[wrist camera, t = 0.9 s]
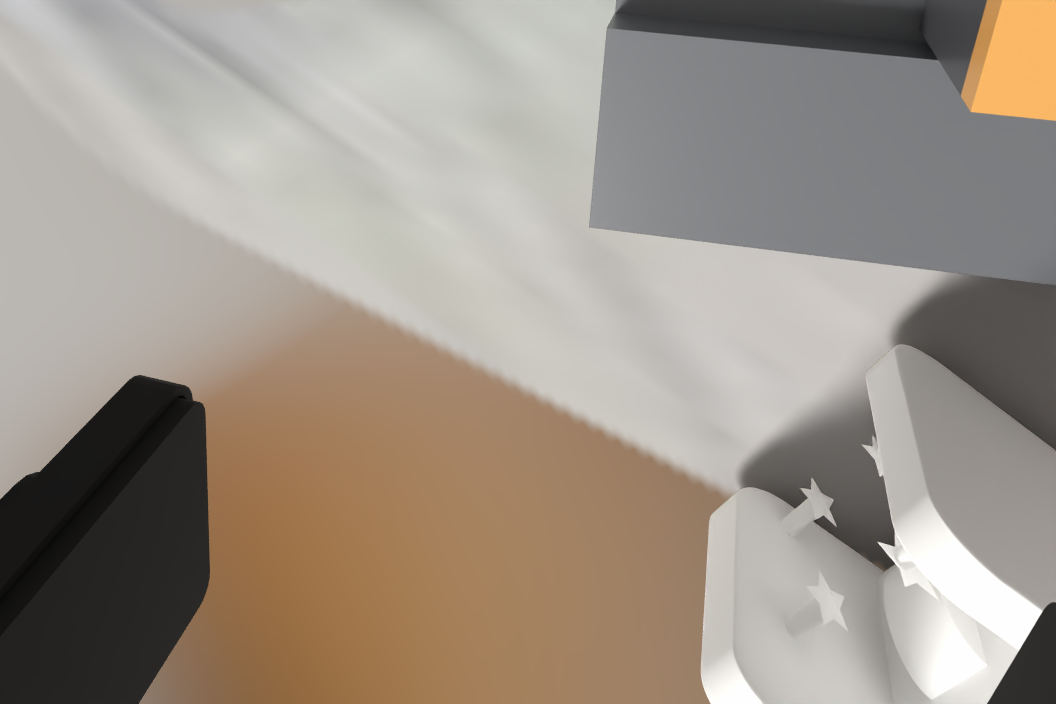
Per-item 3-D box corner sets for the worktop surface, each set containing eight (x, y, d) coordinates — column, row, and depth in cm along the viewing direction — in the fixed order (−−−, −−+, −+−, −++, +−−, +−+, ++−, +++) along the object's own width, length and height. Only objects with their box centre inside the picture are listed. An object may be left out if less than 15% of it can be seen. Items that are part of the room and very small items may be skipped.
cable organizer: (1198, 544, 37) (1360, 828, 27) (974, 684, 42) (1041, 962, 33) (892, 312, 35) (947, 530, 25) (697, 490, 40) (679, 727, 30)
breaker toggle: (1070, -87, 26) (1180, -35, 19) (1031, 39, 27) (1121, 127, 21) (949, -97, 26) (1016, -49, 20) (918, 29, 28) (971, 111, 21)
